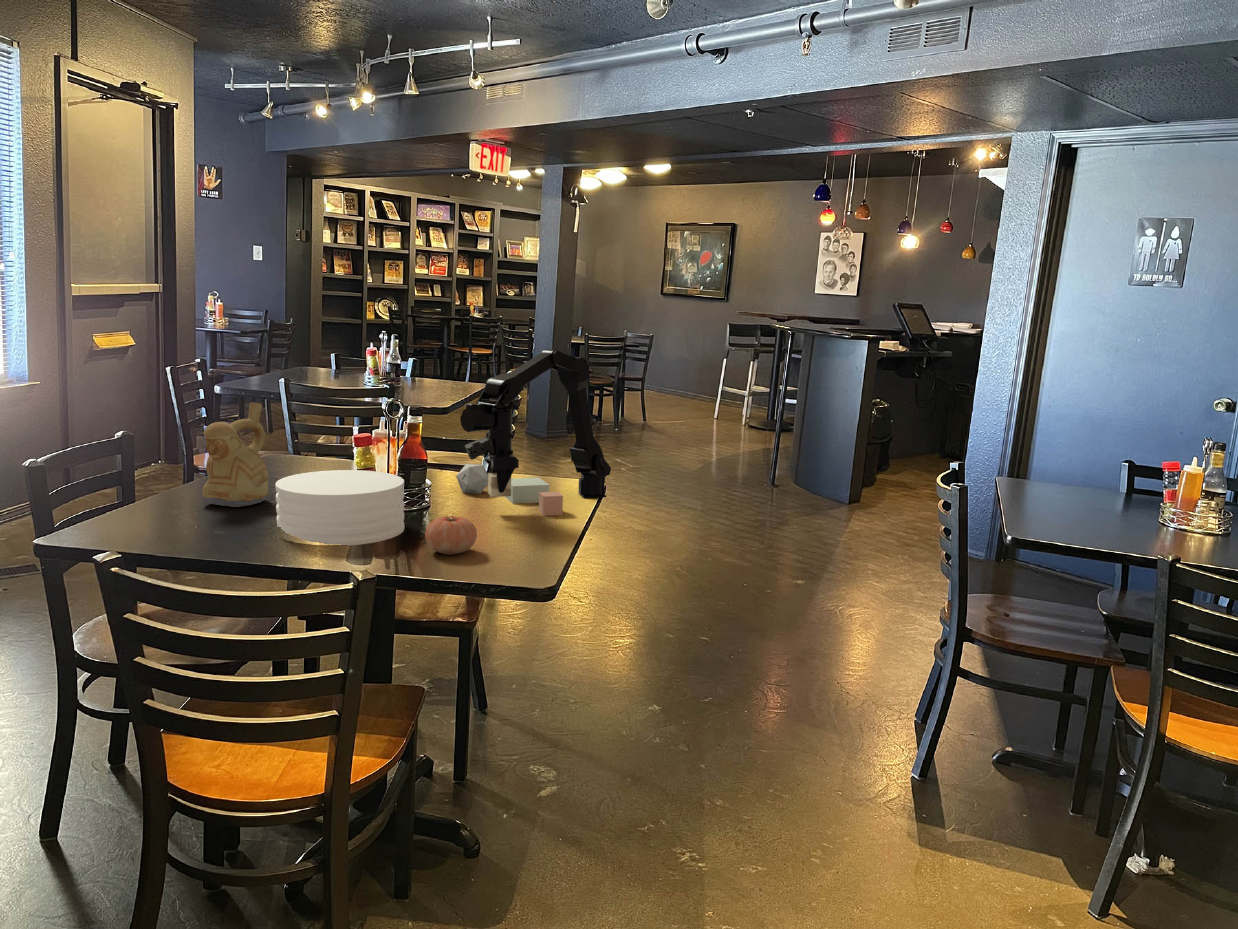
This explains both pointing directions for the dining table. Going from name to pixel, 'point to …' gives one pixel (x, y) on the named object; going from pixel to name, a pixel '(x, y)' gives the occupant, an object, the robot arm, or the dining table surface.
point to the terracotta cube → (550, 503)
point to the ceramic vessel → (236, 460)
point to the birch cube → (493, 486)
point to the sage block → (527, 490)
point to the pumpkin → (451, 535)
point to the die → (472, 478)
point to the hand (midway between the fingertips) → (499, 490)
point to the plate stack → (341, 506)
